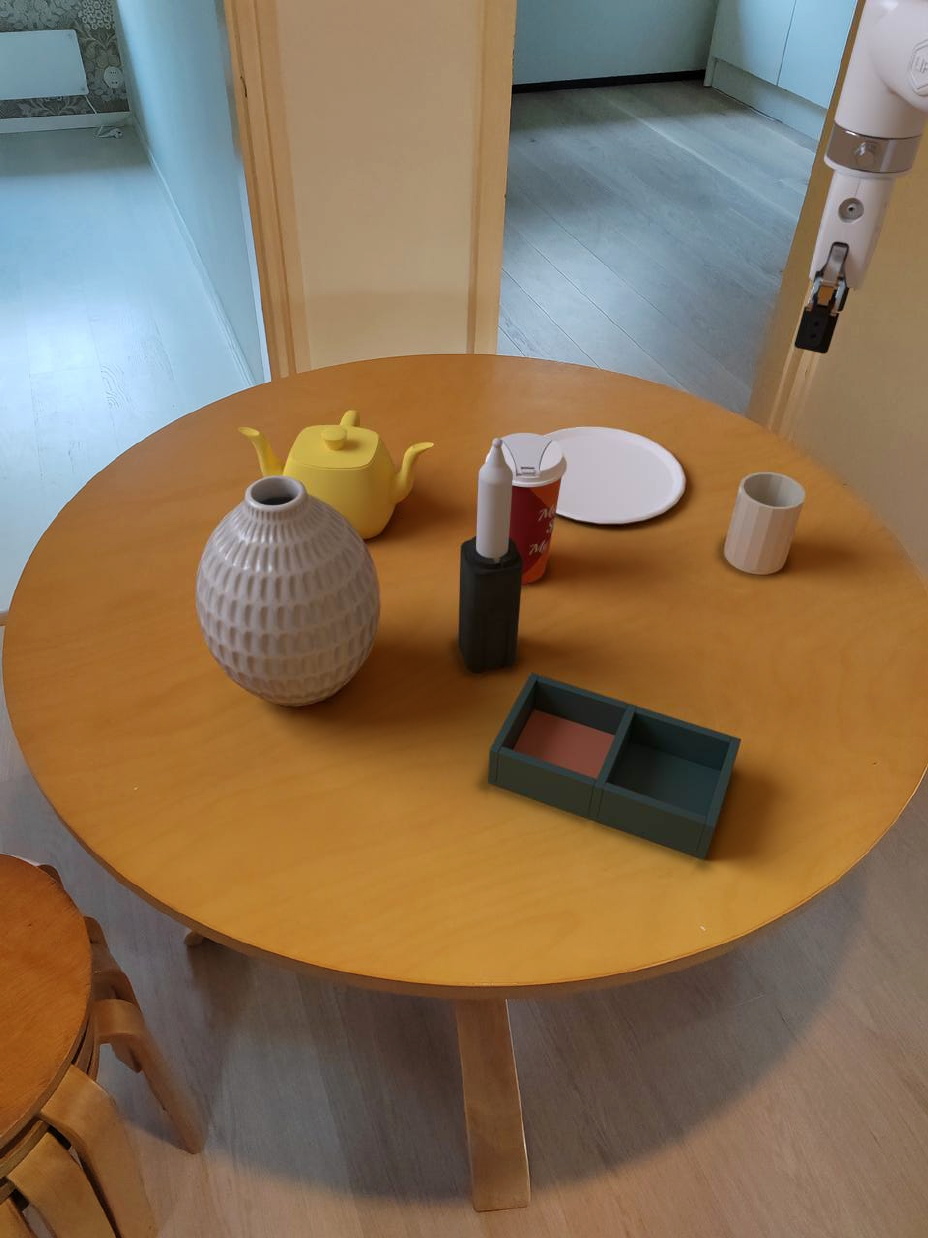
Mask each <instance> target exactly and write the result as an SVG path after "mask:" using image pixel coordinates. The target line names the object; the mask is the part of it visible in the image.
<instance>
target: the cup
mask: <svg viewBox="0 0 928 1238" xmlns="http://www.w3.org/2000/svg"><path fill="white" fill-rule="evenodd" d="M806 497H807V494H806V491H805V488H804V486H803V485H802V484H800V483H799V482H798V481H797V480H796V479H794V478H792V477H790V476H788V475H786V474H782V473H779V472H774V471H757V472H752V473H749V474H748V475H746V476H745V477H742V479H741V481H740V484H739V487H738V491H737V496H736V498H735V503H734V506H733V511H732V515H731V518H730V522H729V526H728V531H727V535H726V539H725V542H724V548H723V555H724V558H725V559H726V561H728V563H729V564H730V565H731V566H733V567H734V568H735V569H737V570H739V571H742V572H744V573H747V574H752V575H758V576H762V575H764V576H765V575H772V574H774V573H777V572H779V571H780V570H782V568H783V567H784V566H785V564H786V561H787V558H788V555H789V551H790V548H791V545H792V542H793V538H794V535H795V532H796V529H797V526H798V522H799V519H800V516H801V513H802V509H803V506H804V503H805V500H806Z"/></svg>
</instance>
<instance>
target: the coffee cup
mask: <svg viewBox="0 0 928 1238" xmlns="http://www.w3.org/2000/svg"><path fill="white" fill-rule="evenodd" d="M500 439H501V440H502V442H503V444H502V446H501V448H502V451H503V455H504V458H505V462H506V463H507V464H508V466H509V467H510V468H511V470H512V473H513V481H512V496H511V512H510V527H509V537H510V538H511V539H512V540H513V541H514V542H515V543H516V546H517V549H518V551H519V553H520V555H521V557H522V559H523V573H522V585H527V584H532V583H534V582H536V581H539V579H540V578H542V577H543V575H544V574H545V571H546V567H547V563H548V558H549V554H550V547H551V542H552V537H553V531H554V526H555V518H556V515H557V514H556V508H557V502H558V496H559V491H560V485H561V479H562V476H563V475H564V473H565V472H566V469H567V463H566V460H565V458H564V455H563V451H562V449H561V447H560V446H559V445H558V443H556V442H555V441H554V440H552V439H550V438H547V437H545V436H543V435H542V434H538V433H533V432H515V433H511V434H508V435H505V436H502V437H500ZM492 448H493V445H491V447H490V451H489V452H488V453H487V455H486V457H485V461H484V462H485V463H486V462H487V461H488V458H489V456H490V453H491V451H492ZM485 463H484V464H485Z"/></svg>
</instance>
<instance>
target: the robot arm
mask: <svg viewBox="0 0 928 1238" xmlns="http://www.w3.org/2000/svg"><path fill="white" fill-rule="evenodd" d="M854 39H855V40H854V43H853V47H852V50H851V54H850V59H849V62H848V66H847V69H846V73H845V74H846V75H845V77H844V81H843V84H842V89H841V92H840V96H839V100H838V103H837V107H836V111H835V115H834V118H833V122H832V126H831V130H830V132H829V133H830V134H829V138H828V141H827V145H826V147H825V148H826V149H825V153H824V157H823V162H824V163H825V165H826V166H828V167H829V168H830V169H832V170H834V171H833V175H832V179H831V182H830V185H829V189H828V193H827V197H826V202H825V204H824V207H823V208H824V209H823V213H822V216H821V220H820V224H819V228H818V232H817V237H816V241H815V246H814V250H813V254H812V259H811V264H810V270H809V275H808V278H809V279H810V281H811V282H812V283H813V285H812V289H811V292H810V295H809V299H808V301H807V305H805V306H804V308H803V311H802V315H801V318H800V322H799V325H798V329H797V333H796V336H795V339H794V343H793V345H794V348H796V349H800V350H803V351H809V352H814V353H819V354H823V355H825V354H827V353H828V352H829V349H830V346H831V343H832V340H833V337H834V332H835V331H836V326H837V323H838V320H839V316H840V314H841V313H840V312H843V310H844V307H845V305H846V302H847V299H848V295H849V292H850V289H853V290H852V291H853V292H857V291H859V290H860V289H862V288H863V285H864V283H865V279H866V277H867V275H868V271H869V269H870V266H871V263H872V260H873V257H874V253H875V250H876V247H877V244H878V242H879V238H880V235H881V232H882V229H883V226H884V225H883V224H884V222H885V219H886V216H887V213H888V209H889V206H890V202H891V199H892V195H893V192H894V189H895V185H896V180H897V179H901V178H903V177H906V176H908V175H910V174H911V173H912V169H913V166H914V163H915V160H916V157H917V154H918V152H919V151H918V150H919V147H920V144H921V141H922V138H923V135H924V132H925V129H926V126H927V123H928V0H865V2H864V5H863V9H862V13H861V17H860V19H859V23H858V28H857V32H856V35H855V38H854Z"/></svg>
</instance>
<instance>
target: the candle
mask: <svg viewBox="0 0 928 1238" xmlns="http://www.w3.org/2000/svg"><path fill="white" fill-rule="evenodd" d="M500 438H501V437H500ZM500 438H499V437H495V438H494V439H493V440H492V442H491V443H492V446H493V448H492V447H491V448H492V451H491V453H490V456H489V458H488V461H487V462H486V463H484V464H483V465H482V466H481V467H480V469H479V471H478V485H477V486H478V487H477V511H476V513H477V514H476V517H477V518H476V535H475V536H473V537H472V538H470V539H467V540H464V542H462V544H461V545H460V553H459V556H460V557H459V593H458V594H459V596H458V597H459V598H458V599H459V601H458V638H457V639H458V641H457V643H458V644H457V647H458V649H459V653H460V654H461V655H460V656H461V658H462V660H463V662H464V665H465V667H466V669H467V670H468V671H469V672H472V673H475V674H481V673H483V672H484V671H489V670H495V669H500V668H505V669H507V668H510V667H512V666H514V665H515V663H516V659H517V649H518V648H517V647H518V636H519V635H518V633H519V622H520V611H521V610H520V608H521V597H522V596H521V595H522V585H523V584H522V573H523V559H522V557H521V555H520V553H519V551H518V549H517V546H516V543H515V542H514V541H513V540H512V539H511V538H510V537H509V527H510V512H511V496H512V481H513V473H512V470H511V468H510V467H509V466H508V464H507V463H506V462H505V458H504V455H503V451H502V448H501V446H502V444H503V442H502V440H501V439H500Z"/></svg>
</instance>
